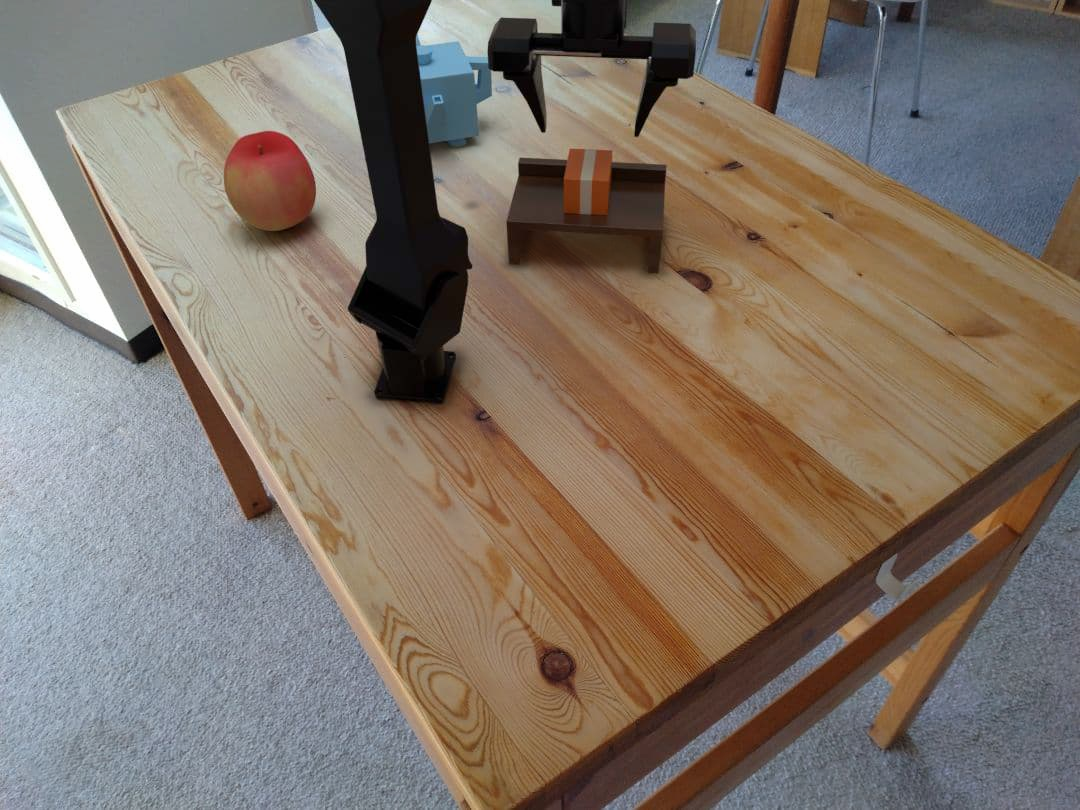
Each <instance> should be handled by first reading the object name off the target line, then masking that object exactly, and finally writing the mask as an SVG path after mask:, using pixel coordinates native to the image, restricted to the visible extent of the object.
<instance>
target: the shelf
mask: <svg viewBox="0 0 1080 810" xmlns="http://www.w3.org/2000/svg"><path fill="white" fill-rule="evenodd" d="M567 160H568V159H560V158H559V159H558V158H557V159H556V158H538V157H519V159H518V162H517V173H518V176H517V180H516V184H515V187H514V191H513V195H512V199H511V203H510V205H509V206H510V207H509V210H508V214H507V217H506V220H505V221H506V240H507V255H508V257H507V258H508V265H515V266H520V265H521V261H522V257H523V253H524V249H525V248H524V247H525V244H526V239H527V234H528V231H534V232H553V233H569V234H587V235H602V236H603V235H604V236H605V235H606V236H620V237H621V236H622V237H638V238H648V255H647V268H646V269H647V272H646V273H648V274H660V265H661V264H660V263H661V255H662V246H663V238H664V237H663V235H664V219H665V197H666V196H665V195H666V179H667V169H668V168H667V164H662V163H641V162H619V161H612V171H611V187H610V195H609V204H608V212H607V215H593V214H591V215H588V214H574V213H564V176H565V170H566V165H567Z"/></svg>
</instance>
